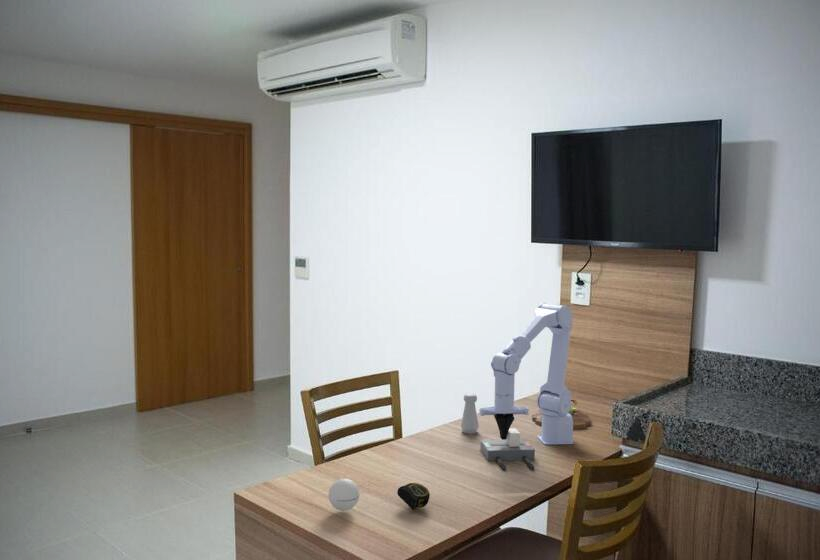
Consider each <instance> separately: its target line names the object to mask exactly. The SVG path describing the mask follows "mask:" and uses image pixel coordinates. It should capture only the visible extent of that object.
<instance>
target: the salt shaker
mask: <svg viewBox="0 0 820 560" xmlns="http://www.w3.org/2000/svg"><path fill="white" fill-rule="evenodd" d="M477 401H478V396H477V395H476V394H475V393H466V394H465V395H464V396H463V402H465V404H464V409H463V412H462V419H461V423H460V427H461V430H462V432H463V433H464V434H467V435H474V434H476V433H477V432H478V429H479V426H480V424H479V421H478V419H479V418H478V414H477V410H476V409H477V407H476V402H477Z"/></svg>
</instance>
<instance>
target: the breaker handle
mask: <svg viewBox="0 0 820 560" xmlns="http://www.w3.org/2000/svg"><path fill="white" fill-rule="evenodd" d="M520 439H521V433H520V432H519V430H518V429H517V428H514V427H512V428H511V427H510V428H509V431H508V434H507V438H506V443H507V444H508V445H509V446H510V447H519V446H520Z"/></svg>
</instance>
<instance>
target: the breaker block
mask: <svg viewBox="0 0 820 560" xmlns="http://www.w3.org/2000/svg"><path fill="white" fill-rule="evenodd" d="M535 451H536V450H535V448H534V447H533V446H532V444H530V442H529V441H528V440H527V439H526V438H520V446H519V447H510V446H509V445H508V444H507V443H506V440H502V439H480V452H481V453H482V454H483V456H484V458H485V459H486V460H487V461H488V462H489V461H491V462H492V461H497V460H496V457H497V456H498V457H500V459H501V460H502V461H524V460H523V456H526V457H527V458H528V459H529V461H530V460H531V461H532V460H533V461H534V460H535V458H536V455H535V454H536V452H535Z"/></svg>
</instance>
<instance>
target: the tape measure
mask: <svg viewBox="0 0 820 560" xmlns="http://www.w3.org/2000/svg"><path fill="white" fill-rule="evenodd" d="M430 495H431V494H430V491H429V489H428V488H427V486H425V485H423V484H420V483H418V482H411V483H410V482H409V483H407V484H405V485H402V486H400V487H399V488H398V489H397V496H398V497H399V498H400V499H401V500H402V501H403V502H404V503H405V504H406V505H408V507H409V508H410V509H411V510H416V509H421V508H424V507H426V505H427V504H428V503H429V501H430Z"/></svg>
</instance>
